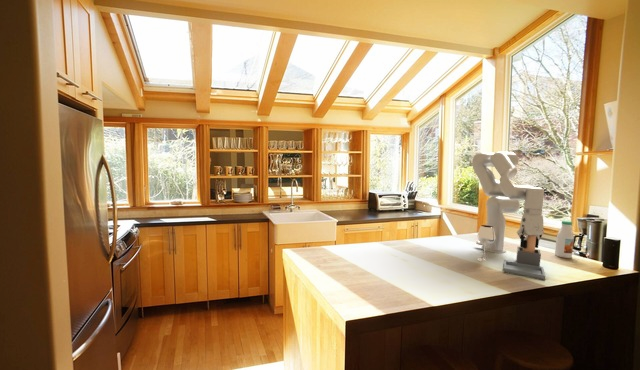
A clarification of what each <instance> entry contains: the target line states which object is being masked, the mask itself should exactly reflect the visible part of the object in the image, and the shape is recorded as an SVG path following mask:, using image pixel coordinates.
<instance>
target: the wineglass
mask: <svg viewBox="0 0 640 370" xmlns="http://www.w3.org/2000/svg"><path fill="white" fill-rule="evenodd" d="M477 239H478V240H477V241H480V242H481V243H482V244H483V245H484V250H483V258H481V257H479V258H477V261H478V262H482V261H487V259H486V253H487V251H486V247H487V246H488V245H490V244H491V243H493V242H494V241H495V232H494V227H493V226H488V225H487V224H483V225H480V227H479V230H478V232H477ZM483 245H482V246H483Z"/></svg>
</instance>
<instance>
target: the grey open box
mask: <svg viewBox="0 0 640 370" xmlns="http://www.w3.org/2000/svg"><path fill="white" fill-rule="evenodd" d="M541 256H542V253H541V250H540V249H538V248H535V253H531V252H525V251H523V248H522V247H520V246H517V249H516V257H515V260H516V261H515V262H516V263H522V264H527V265H533V266H539V267H541V266H540V265H541Z"/></svg>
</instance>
